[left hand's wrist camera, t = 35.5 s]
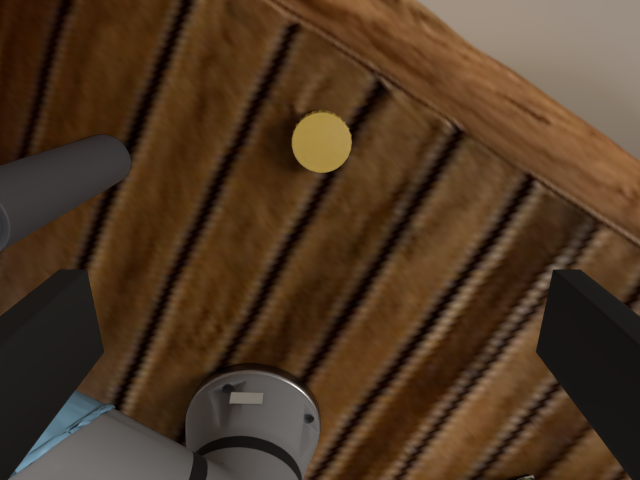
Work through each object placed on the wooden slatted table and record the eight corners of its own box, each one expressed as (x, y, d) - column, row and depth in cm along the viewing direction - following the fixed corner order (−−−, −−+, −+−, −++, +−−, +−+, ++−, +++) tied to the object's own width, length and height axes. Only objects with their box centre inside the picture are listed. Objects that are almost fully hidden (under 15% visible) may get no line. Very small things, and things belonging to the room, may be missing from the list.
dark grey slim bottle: (117, 127, 40) (-50, 179, 22) (139, 174, 42) (1, 259, 24) (72, 143, 41) (-127, 206, 23) (96, 189, 43) (-72, 283, 24)
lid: (343, 102, 40) (345, 105, 38) (355, 160, 42) (357, 165, 39) (286, 116, 40) (284, 120, 38) (300, 173, 42) (299, 179, 40)
